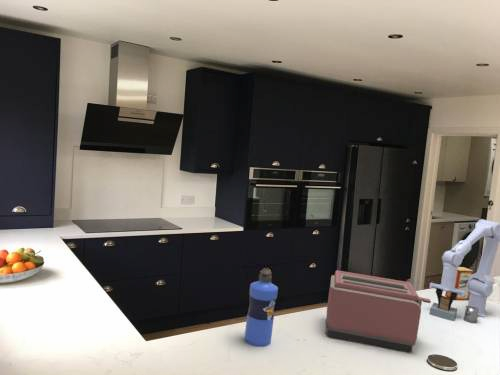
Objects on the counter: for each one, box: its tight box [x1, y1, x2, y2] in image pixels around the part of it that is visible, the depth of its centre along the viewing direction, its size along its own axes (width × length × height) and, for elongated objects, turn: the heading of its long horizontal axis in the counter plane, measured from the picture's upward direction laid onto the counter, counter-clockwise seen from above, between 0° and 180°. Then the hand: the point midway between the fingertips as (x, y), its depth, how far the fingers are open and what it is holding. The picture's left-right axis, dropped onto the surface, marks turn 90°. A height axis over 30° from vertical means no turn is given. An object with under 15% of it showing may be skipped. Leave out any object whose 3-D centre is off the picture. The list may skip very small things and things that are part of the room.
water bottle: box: [244, 267, 279, 348], centre depth 146 cm, size 9×9×25 cm
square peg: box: [439, 295, 450, 311], centre depth 195 cm, size 4×4×6 cm
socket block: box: [429, 302, 458, 322], centre depth 195 cm, size 10×10×3 cm
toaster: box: [325, 270, 432, 353], centre depth 161 cm, size 19×36×21 cm, turn 79°
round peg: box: [463, 305, 479, 324], centre depth 191 cm, size 5×5×6 cm
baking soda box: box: [444, 266, 475, 301], centre depth 223 cm, size 10×6×16 cm
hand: (444, 307), depth 195 cm, fingers closed on square peg, 3 cm apart
